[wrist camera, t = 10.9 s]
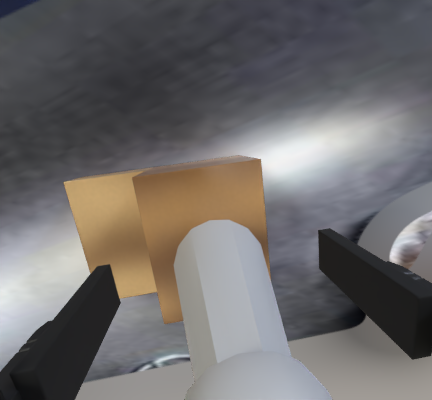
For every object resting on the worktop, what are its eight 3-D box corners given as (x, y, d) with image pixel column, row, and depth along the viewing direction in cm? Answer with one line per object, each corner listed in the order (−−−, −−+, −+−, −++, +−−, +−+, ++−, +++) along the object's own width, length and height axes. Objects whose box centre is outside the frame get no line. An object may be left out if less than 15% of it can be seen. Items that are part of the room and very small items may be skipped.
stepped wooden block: (82, 176, 23) (24, 192, 15) (239, 155, 24) (261, 159, 16) (111, 281, 25) (75, 340, 18) (250, 258, 26) (273, 304, 19)
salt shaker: (198, 293, 18) (206, 654, 5) (163, 232, 16) (53, 522, 4) (265, 260, 18) (443, 549, 5) (235, 197, 16) (379, 371, 4)
